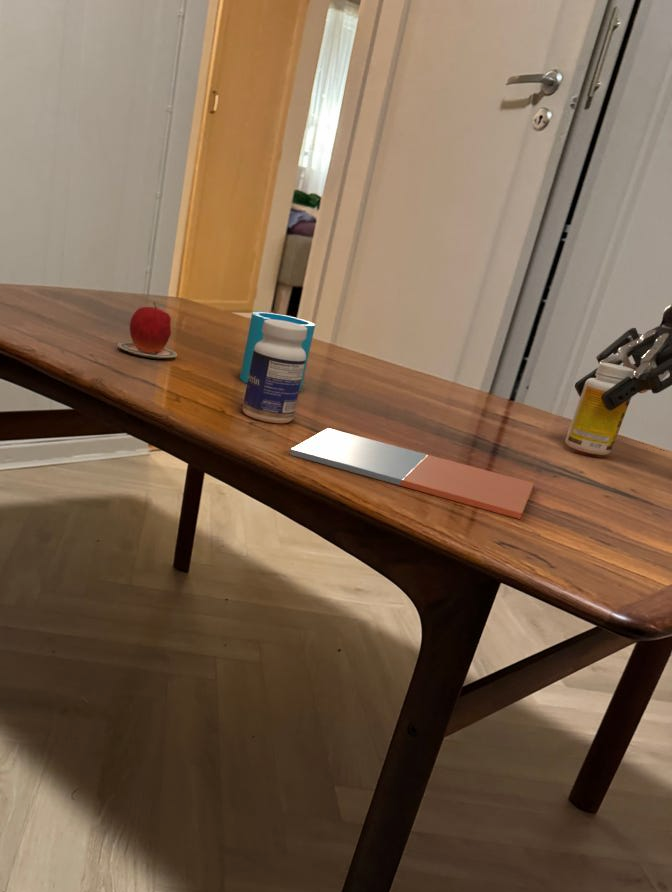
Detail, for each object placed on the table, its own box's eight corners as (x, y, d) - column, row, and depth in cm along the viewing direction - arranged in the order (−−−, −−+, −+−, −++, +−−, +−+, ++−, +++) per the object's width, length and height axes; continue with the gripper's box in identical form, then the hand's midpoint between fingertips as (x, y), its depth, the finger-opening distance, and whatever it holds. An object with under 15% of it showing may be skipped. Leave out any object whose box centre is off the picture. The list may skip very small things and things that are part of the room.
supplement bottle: (614, 459, 110) (646, 374, 105) (568, 450, 110) (598, 364, 106) (604, 449, 115) (634, 367, 110) (560, 440, 115) (588, 358, 111)
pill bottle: (237, 407, 102) (255, 315, 97) (286, 414, 103) (306, 323, 98) (245, 420, 97) (264, 323, 92) (297, 427, 98) (318, 332, 93)
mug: (281, 394, 113) (295, 326, 109) (227, 377, 116) (239, 311, 113) (325, 387, 122) (340, 325, 118) (275, 372, 126) (287, 311, 122)
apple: (150, 347, 127) (157, 298, 124) (188, 361, 122) (196, 311, 119) (105, 346, 122) (111, 295, 119) (143, 360, 117) (150, 308, 114)
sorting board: (532, 488, 91) (534, 483, 91) (520, 519, 80) (522, 513, 80) (326, 433, 98) (328, 427, 97) (289, 454, 87) (290, 448, 86)
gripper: (670, 275, 111) (550, 361, 114) (749, 290, 98) (611, 385, 101) (690, 327, 114) (573, 408, 117) (769, 347, 102) (635, 438, 105)
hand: (591, 397), depth 109 cm, fingers closed on supplement bottle, 5 cm apart
